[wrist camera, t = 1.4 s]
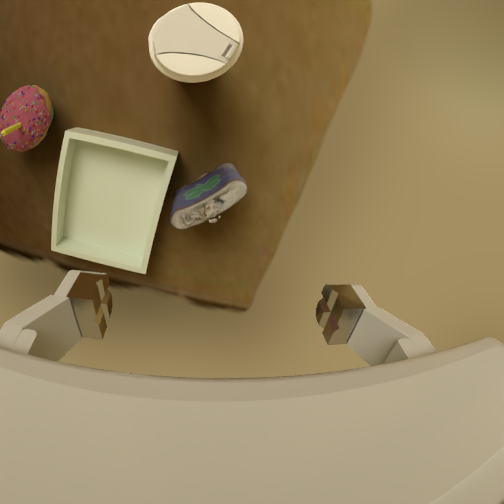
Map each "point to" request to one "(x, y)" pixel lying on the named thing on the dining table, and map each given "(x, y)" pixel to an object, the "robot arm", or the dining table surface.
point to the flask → (207, 197)
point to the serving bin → (109, 198)
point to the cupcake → (25, 118)
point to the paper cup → (195, 42)
